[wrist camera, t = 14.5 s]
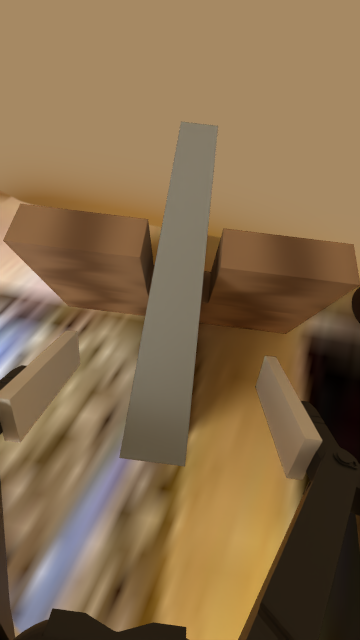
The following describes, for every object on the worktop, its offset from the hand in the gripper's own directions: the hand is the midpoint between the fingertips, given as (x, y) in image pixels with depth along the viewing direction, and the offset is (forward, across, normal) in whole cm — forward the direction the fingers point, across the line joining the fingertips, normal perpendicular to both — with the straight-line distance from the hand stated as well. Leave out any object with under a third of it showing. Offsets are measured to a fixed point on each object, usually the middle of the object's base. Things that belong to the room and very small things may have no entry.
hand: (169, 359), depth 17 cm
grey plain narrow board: (+9, 0, 0) cm, 9 cm away
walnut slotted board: (+9, 0, +1) cm, 9 cm away
